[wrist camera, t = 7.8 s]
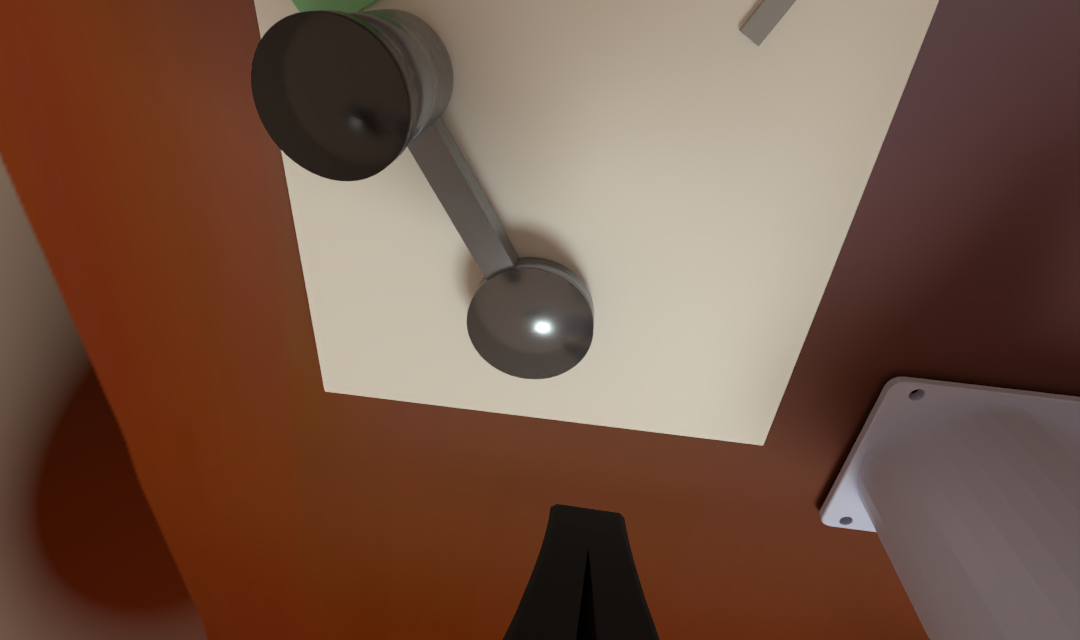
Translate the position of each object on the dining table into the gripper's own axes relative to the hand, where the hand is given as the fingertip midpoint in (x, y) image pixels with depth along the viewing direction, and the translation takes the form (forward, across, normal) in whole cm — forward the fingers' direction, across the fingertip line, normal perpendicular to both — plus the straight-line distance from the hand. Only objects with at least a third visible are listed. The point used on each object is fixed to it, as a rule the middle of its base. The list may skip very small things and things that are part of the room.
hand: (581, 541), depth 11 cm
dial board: (+10, +2, -4) cm, 11 cm away
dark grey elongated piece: (+8, +4, -3) cm, 10 cm away
